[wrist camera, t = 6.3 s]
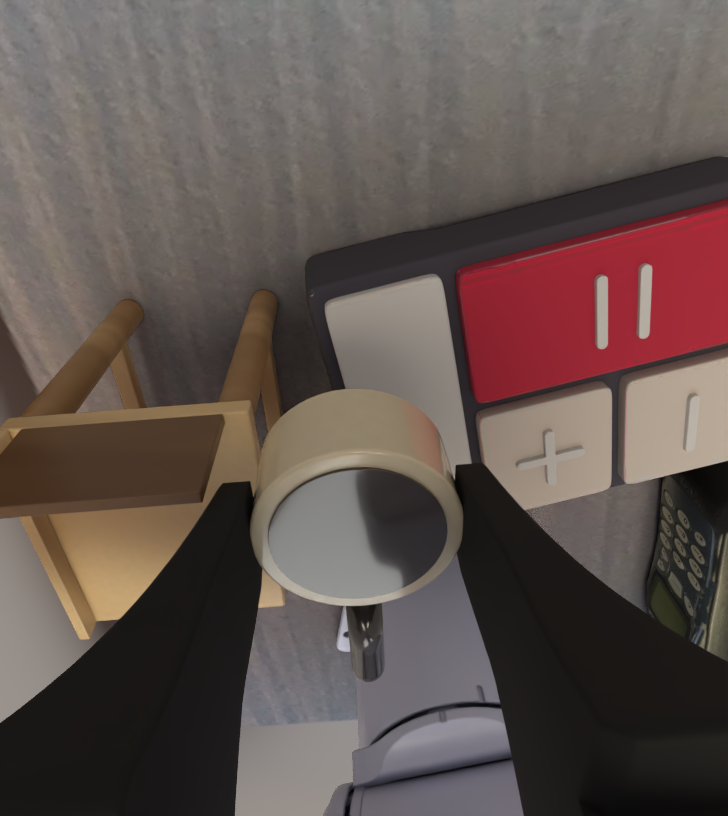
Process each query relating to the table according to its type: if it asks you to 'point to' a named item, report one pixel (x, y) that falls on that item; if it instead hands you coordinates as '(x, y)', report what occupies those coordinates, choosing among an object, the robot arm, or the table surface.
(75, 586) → the wooden l-shaped block
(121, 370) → the stand
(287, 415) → the pan
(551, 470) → the calculator
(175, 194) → the table surface
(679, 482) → the mobile phone
